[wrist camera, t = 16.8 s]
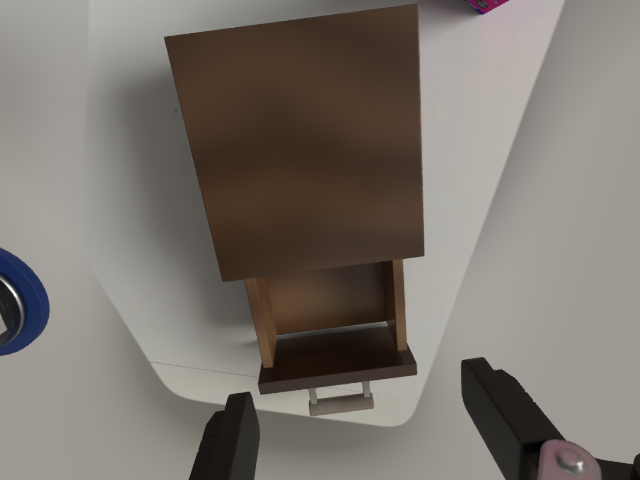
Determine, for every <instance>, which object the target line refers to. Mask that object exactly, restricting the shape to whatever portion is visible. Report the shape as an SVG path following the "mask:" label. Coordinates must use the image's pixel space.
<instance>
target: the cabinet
mask: <svg viewBox="0 0 640 480" xmlns="http://www.w3.org/2000/svg"><path fill="white" fill-rule="evenodd" d="M164 39H165V43H166V48H167V52H168V56H169V60H170V64H171V68H172V73H173V77H174V81H175V85H176V89H177V93H178V98H179V102H180V106H181V110H182V114H183V118H184V123H185V127H186V131H187V135H188V139H189V143H190V148H191V152H192V156H193V160H194V164H195V168H196V173H197V177H198V181H199V185H200V189H201V194H202V198H203V202H204V206H205V210H206V214H207V219H208V223H209V227H210V231H211V235H212V239H213V244H214V248H215V252H216V256H217V260H218V264H219V269H220V273H221V277H222V281H223V282H227V281H235V280H243V279H250V278H258V277H266V276H274V275H281V274H289V273H297V272H305V271H313V270H320V269H328V268H336V267H344V266H351V265H359V264H367V263H375V262H383V261H390V260H398V259H406V258H414V257H421V256H424V218H423V176H422V135H421V93H420V52H419V11H418V4H410V5H403V6H395V7H387V8H380V9H372V10H365V11H357V12H349V13H342V14H334V15H326V16H319V17H311V18H304V19H296V20H288V21H281V22H273V23H266V24H258V25H250V26H243V27H235V28H228V29H220V30H212V31H205V32H197V33H190V34H182V35H174V36H167V37H164Z"/></svg>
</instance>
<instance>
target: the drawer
mask: <svg viewBox="0 0 640 480" xmlns="http://www.w3.org/2000/svg"><path fill="white" fill-rule="evenodd" d="M245 284H246V289H247V293H248V298H249V303H250V307H251V312H252V316H253V321H254V326H255V330H256V335H257V340H258V344H259V349H260V353H261V358H262V364H261V370H260V375H259V381H258V386H259V391H260V395H263V394H271V393H278V392H286V391H294V390H302V389H309V395H310V400H309V411H310V415H311V416H318V415H326V414H334V413H341V412H349V411H357V410H365V409H373V408H374V402H373V396H372V393H371V392H370V385H369V381H373V380H381V379H388V378H396V377H404V376H412V375H417V363H416V361H415V359H414V357H413V355H412V352H411V350H410V348H409V346H408V344H407V339H406V317H405V296H404V275H403V259H398V260H390V261H383V262H375V263H367V264H359V265H351V266H344V267H336V268H328V269H320V270H313V271H305V272H297V273H289V274H281V275H274V276H266V277H258V278H250V279H245ZM383 321H386V323H387V325H388V326H387V327H379V328H371V329H364V330H356V331H348V332H340V333H332V334H324V335H317V336H309V337H301V338H293V339H285V340H278V341H276V340H277V335H281V334H289V333H297V332H305V331H312V330H320V329H328V328H336V327H344V326H352V325H359V324H367V323H375V322H383ZM357 382H362V385H363V393H361V394H353V395H345V396H337V397H329V398H321V399H317V395H316V389H315V388H318V387H326V386H333V385H341V384H349V383H357Z"/></svg>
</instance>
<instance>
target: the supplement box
mask: <svg viewBox="0 0 640 480" xmlns="http://www.w3.org/2000/svg"><path fill="white" fill-rule="evenodd" d="M465 1H466V2H467V3H469V4H470V5H471V6H472V7H473V8H474V9H475V10H476V11H478V12H479V13H480V14H481V15H483V14H485V13H487V12H489V11H491V10H492V9H494V8H496V7H498V6H500V5H502V4H503V3H505V2H507V1H509V0H465Z"/></svg>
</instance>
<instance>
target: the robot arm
mask: <svg viewBox="0 0 640 480" xmlns="http://www.w3.org/2000/svg"><path fill="white" fill-rule="evenodd" d="M26 322H27V306H26V302H25V300H24V297H23V295H22V293H21V292H20V290H19V289H18V287H17V286H16V285H15V284H14V282H13V281H12V280H11V279H10V278H9V277H7V276H6V275H5V274H4V273H2V272H1V271H0V348H1V347H2V346H4V345H6V344H8V343H9V342H11V341H12V340H13V339H15V338H16V337H17V336H18V335H19V334H20V333H21V332H22V331H23V329H24V327H25V325H26ZM461 384H462V385H461V386H462V387H461V388H462V397H463V402H464V405H465V407H466V409H467V411H468V413H469V415H470V417H471V418H472V420H473V422H474V424H475V426H476V427H477V429H478V431H479V433H480V435H481V436H482V438H483V440H484V442H485V443H486V445H487V447H488V449H489V451H490V453H491V454H492V456H493V458H494V460H495V461H496V463H497V465H498V467H499V468H500V470H501V472H502V474H503V476H504V478H505V479H506V480H640V454H638V455H637V456H636V457H635V458H634V463H633V464H627V463H620V462H613V461H607V460H601V459H597V458H594V457H593V456H592V455H591V454H590V453H589V452H588V451H587V450H585V449H584V448H582V447H581V446H579V445H577V444H575V443H572V442H570V441H566V440H565V439H564V437H563V436H562V435H561V434H560V432H559V431H558V430H557V429H556V428H555V426H554V425H553V424H552V423H551V421H550V420H549V419H548V418H547V417H546V415H545V414H544V413H543V412H542V411H541V409H540V408H539V407H538V405H537V404H536V403H535V402H533V399H532V398H531V397H530V396H529V394H528V393H527V392H525V390H524V389H523V387H522V386H521V385H520V383H519V382H518V381H517V380H516V379H515V378H514V377H513V376H511V375H509V374H508V373H506V372H505V371H503V370H502V369H501V370H493V369H492V367H491V366H490V365H489V363H488V362H487V361H486V359H485V358H483V357H479V358H473V359H466V360H462V362H461ZM259 440H260V428H259V422H258V418H257V414H256V410H255V407H254V403H253V399H252V396H251V393H250V392H243V393H236V394H230V395H229V396H228V399H227V403H226V407H225V410H223V411H217V412H215V413H214V415H213V416H212V418H211V419H210V420H209V422H208V423H207V424H206V427H205V431H204V434H203V437H202V441H201V443H200V446H199V451H198V453H197V456H196V459H195V462H194V465H193V468H192V471H191V474H190V477H189V480H254V477H255V469H256V462H257V455H258V447H259Z"/></svg>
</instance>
